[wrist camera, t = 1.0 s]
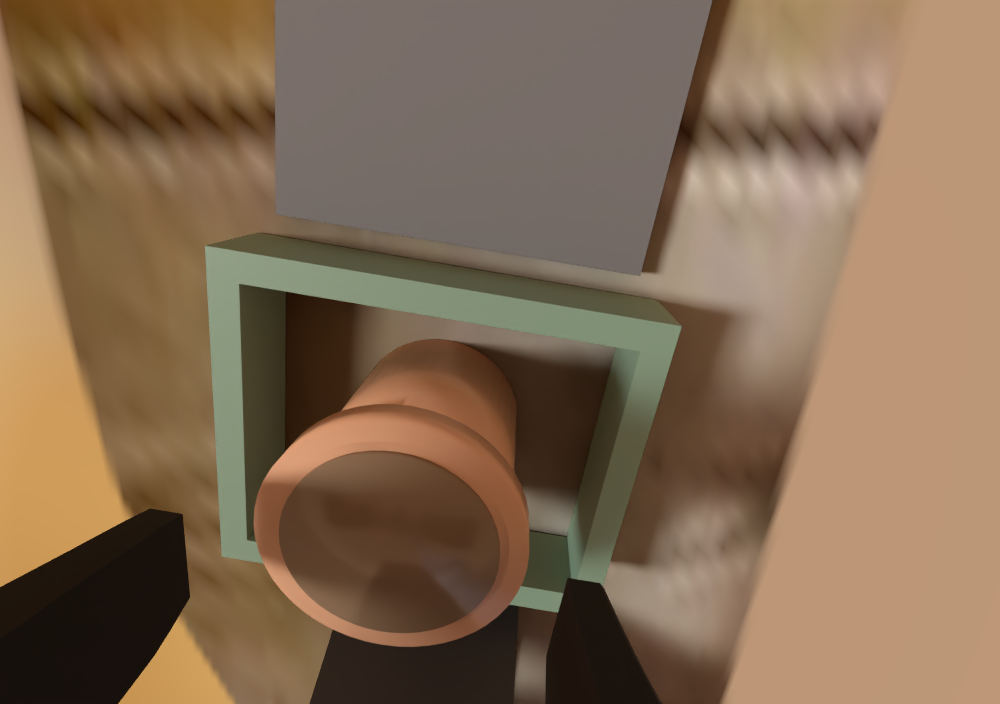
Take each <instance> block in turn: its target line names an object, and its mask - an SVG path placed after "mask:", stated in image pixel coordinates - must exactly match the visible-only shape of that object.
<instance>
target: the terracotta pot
mask: <svg viewBox="0 0 1000 704" xmlns="http://www.w3.org/2000/svg"><path fill="white" fill-rule="evenodd" d="M516 422H517V407H516V401H515V397H514V394H513V391H512V388H511V386H510V384H509V382H508V380H507V379H506V377H505V376H504V374H503V373H502V371H501V370H500V369H499V368H498V367H497V366H496V364H494V363H493V362H492V361H491V360H490V359H489V358H488V357H486V356H485V355H483V354H482V353H480V352H479V351H477V350H475V349H473V348H471V347H469V346H466V345H464V344H461V343H458V342H453V341H449V340H440V339H427V340H420V341H415V342H411V343H408V344H405V345H403V346H401V347H398V348H397V349H395V350H393V351H392V352H390V353H389V354H387V355H386V356H385V357H384V358H383V359H381V361H380V362H379V363H378V364H377V365H376V366H375V367H374V369H373V370H372V371H371V373H370V374H369V375H368V376H367V378H366V379H365V380H364V382H363V383H362V384H361V386H360V387H359V388H358V389H357V391H356V392H355V393H354V395H353V396H352V397H351V399H350V400H349V401H348V402H347V404H346V405H345V406H344V408H343V409H342V410H341V411H340V412H337V413H335V414H332V415H330V416H328V417H325V418H324V419H322V420H320V421H318V422H317V423H315V424H313V425H312V426H310V427H309V428H308V429H307V430H306V431H304V432H303V433H302V434H301V435H299V437H298V438H297V439H296V440H295V441H294V442H293V443H292V444H291V445H290V447H289V448H288V449H287V450H286V451H285V452H284V454H283V455H282V456H281V457H280V458H279V459H278V461H277V462H276V463H275V464H274V465H273V467H272V468H271V469H270V471H269V472H268V474H267V476H266V477H265V479H264V480H263V483H262V485H261V487H260V490H259V492H258V495H257V499H256V504H255V508H254V532H255V539H256V543H257V547H258V551H259V553H260V556H261V558H262V560H263V563H264V565H265V567H266V569H267V570H268V572H269V574H270V576H271V577H272V579H273V580H274V581H275V583H276V584H277V585H278V587H279V588H280V589H281V591H282V592H283V593H284V594H285V595H286V596H287V597H288V598H289V599H290V600H291V601H292V602H293V603H294V604H295V605H297V606H298V607H299V608H300V609H301V610H303V611H304V612H305V613H306V614H308V615H309V616H311V617H312V618H314V619H315V620H317V621H318V622H320V623H322V624H324V625H326V626H327V627H329V628H331V629H333V630H335V631H338V632H340V633H342V634H345V635H347V636H350V637H353V638H356V639H359V640H363V641H366V642H371V643H376V644H380V645H389V646H398V647H418V646H430V645H435V644H441V643H446V642H449V641H453V640H456V639H459V638H462V637H464V636H467V635H469V634H471V633H474V632H475V631H477V630H479V629H481V628H482V627H484V626H486V625H487V624H489V623H490V622H491V621H493V620H494V619H495V618H496V617H498V616H499V615H500V614H501V613H502V612H503V611H504V610H505V609H506V608H507V607H508V606H509V604H510V603H511V601H512V600H513V599H514V597H515V596H516V595H517V593H518V591H519V589H520V587H521V585H522V583H523V580H524V577H525V574H526V571H527V566H528V559H529V512H528V506H527V501H526V497H525V494H524V491H523V489H522V486H521V484H520V482H519V480H518V478H517V476H516V474H515V472H514V462H515V442H516Z"/></svg>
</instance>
